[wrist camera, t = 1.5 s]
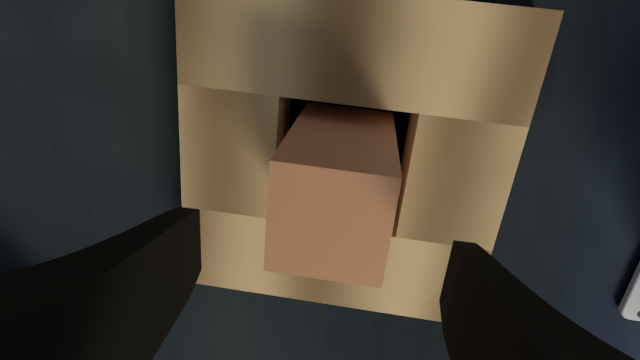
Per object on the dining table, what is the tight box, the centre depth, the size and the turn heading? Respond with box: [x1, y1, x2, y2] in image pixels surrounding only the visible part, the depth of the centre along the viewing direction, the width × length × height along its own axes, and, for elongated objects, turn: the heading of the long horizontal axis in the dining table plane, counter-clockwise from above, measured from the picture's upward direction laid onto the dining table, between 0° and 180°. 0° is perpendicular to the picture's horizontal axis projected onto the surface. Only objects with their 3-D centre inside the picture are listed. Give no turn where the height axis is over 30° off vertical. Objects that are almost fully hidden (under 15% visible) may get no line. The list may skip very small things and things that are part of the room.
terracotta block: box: [264, 102, 402, 289], centre depth 17 cm, size 4×4×8 cm
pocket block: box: [175, 0, 564, 322], centre depth 20 cm, size 14×14×3 cm
